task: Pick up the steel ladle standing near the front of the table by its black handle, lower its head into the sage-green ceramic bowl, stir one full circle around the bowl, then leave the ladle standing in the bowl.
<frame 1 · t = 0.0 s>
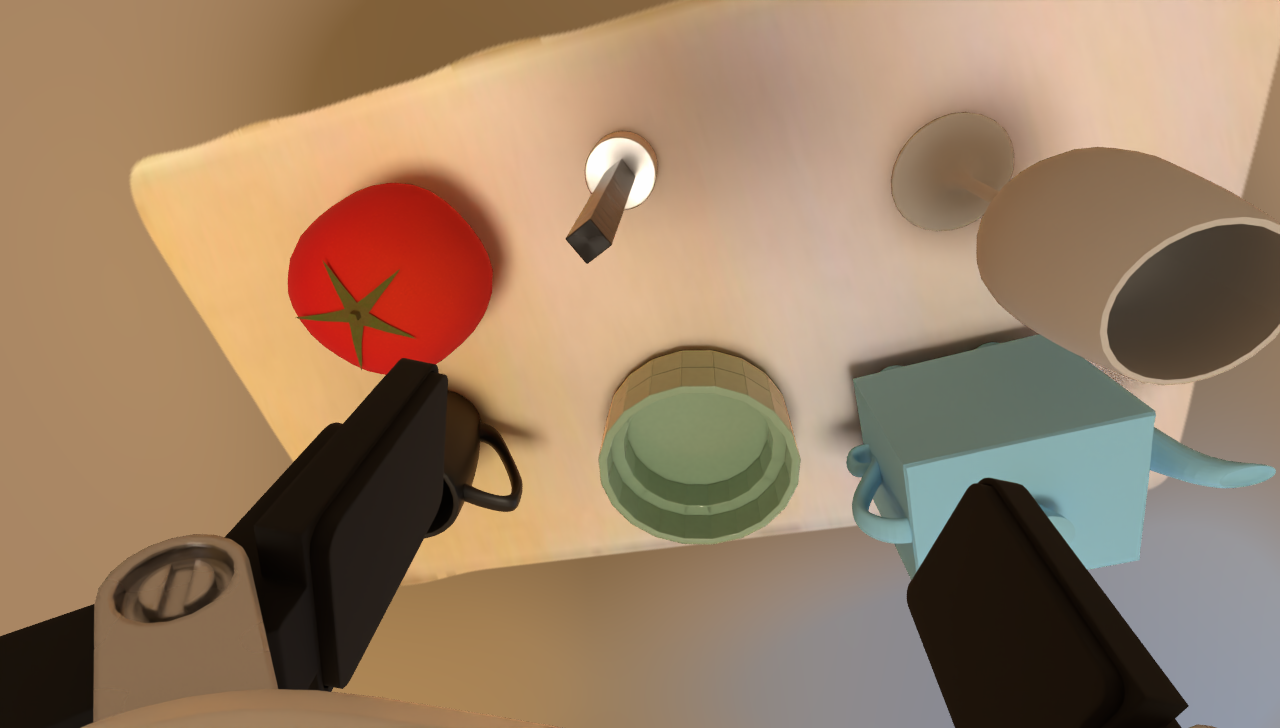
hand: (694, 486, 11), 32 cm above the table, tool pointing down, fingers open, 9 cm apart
bowl: (696, 423, 48), on the table
ladle: (623, 167, 39), on the table
tomato: (427, 254, 43), on the table
wineglass: (949, 173, 38), on the table
teapot: (965, 401, 46), on the table
mug: (471, 421, 50), on the table
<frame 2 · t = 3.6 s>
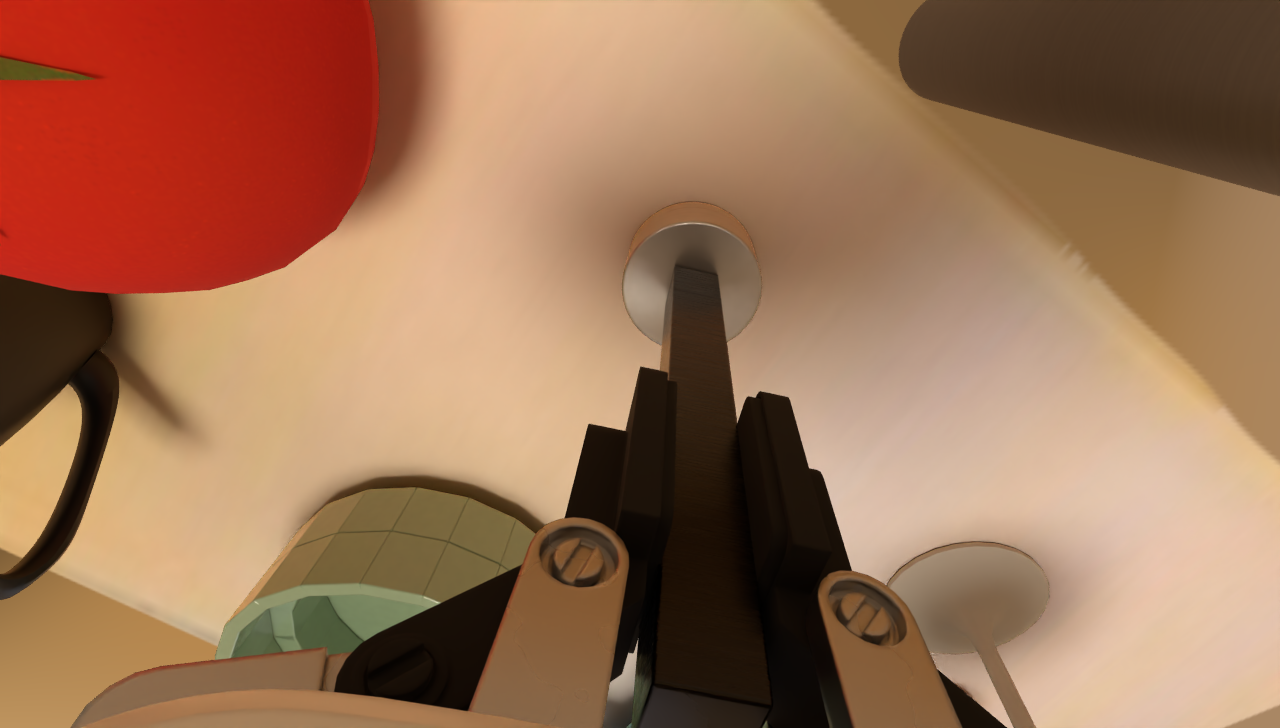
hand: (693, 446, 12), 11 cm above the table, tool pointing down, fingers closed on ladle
bowl: (443, 587, 30), on the table
ladle: (690, 264, 21), on the table, touching gripper
tomato: (249, 41, 19), on the table
wineglass: (960, 595, 28), on the table
mug: (85, 329, 24), on the table
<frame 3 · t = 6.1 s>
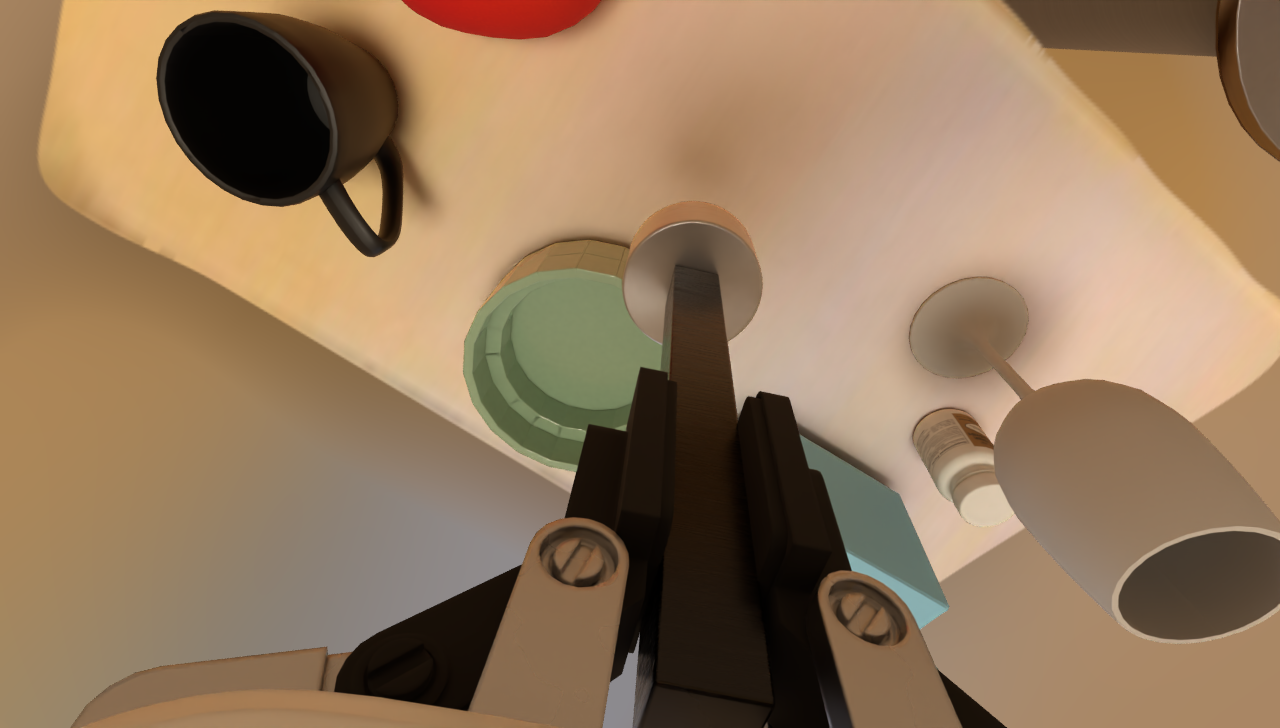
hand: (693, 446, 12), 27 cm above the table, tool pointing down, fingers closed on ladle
bowl: (593, 336, 42), on the table
pill bottle: (942, 430, 43), on the table
ladle: (691, 264, 21), point 17 cm above the table, touching gripper
wineglass: (965, 327, 39), on the table
teapot: (794, 493, 47), on the table
mug: (375, 125, 36), on the table
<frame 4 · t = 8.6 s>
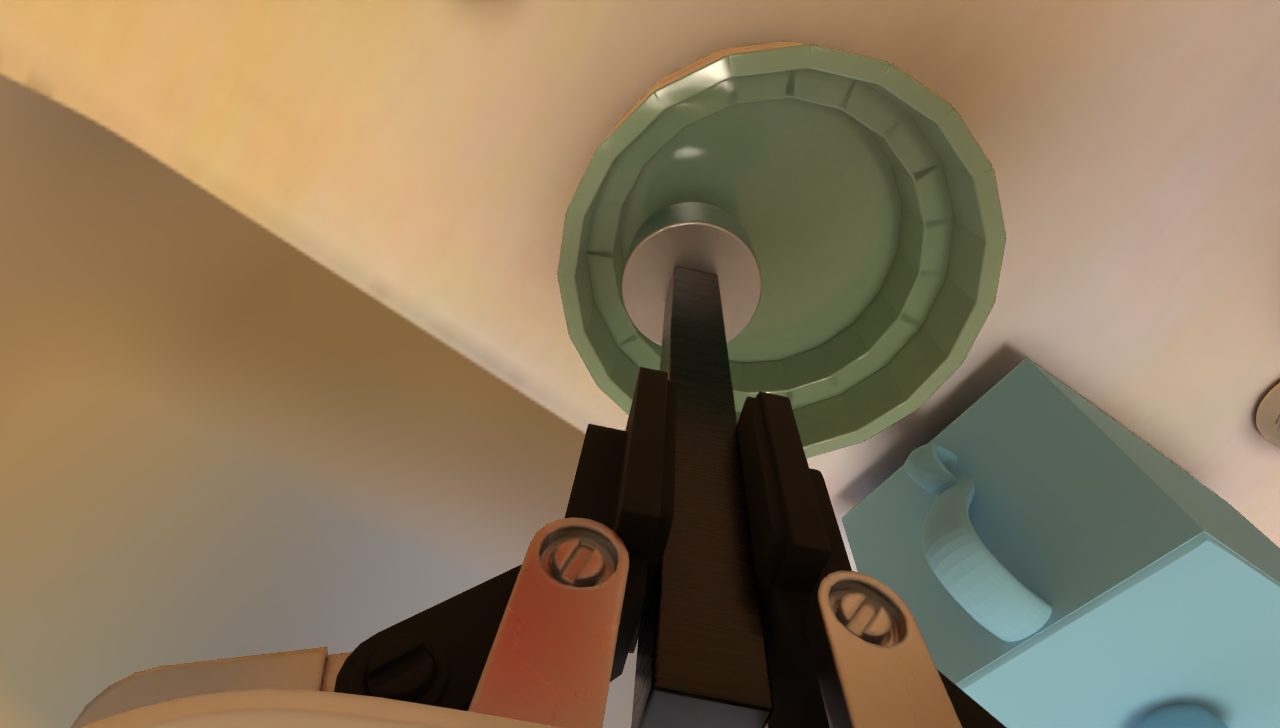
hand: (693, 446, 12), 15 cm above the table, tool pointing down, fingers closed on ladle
bowl: (755, 235, 25), on the table
ladle: (690, 264, 21), point 5 cm above the table, touching gripper
teapot: (1031, 499, 31), on the table
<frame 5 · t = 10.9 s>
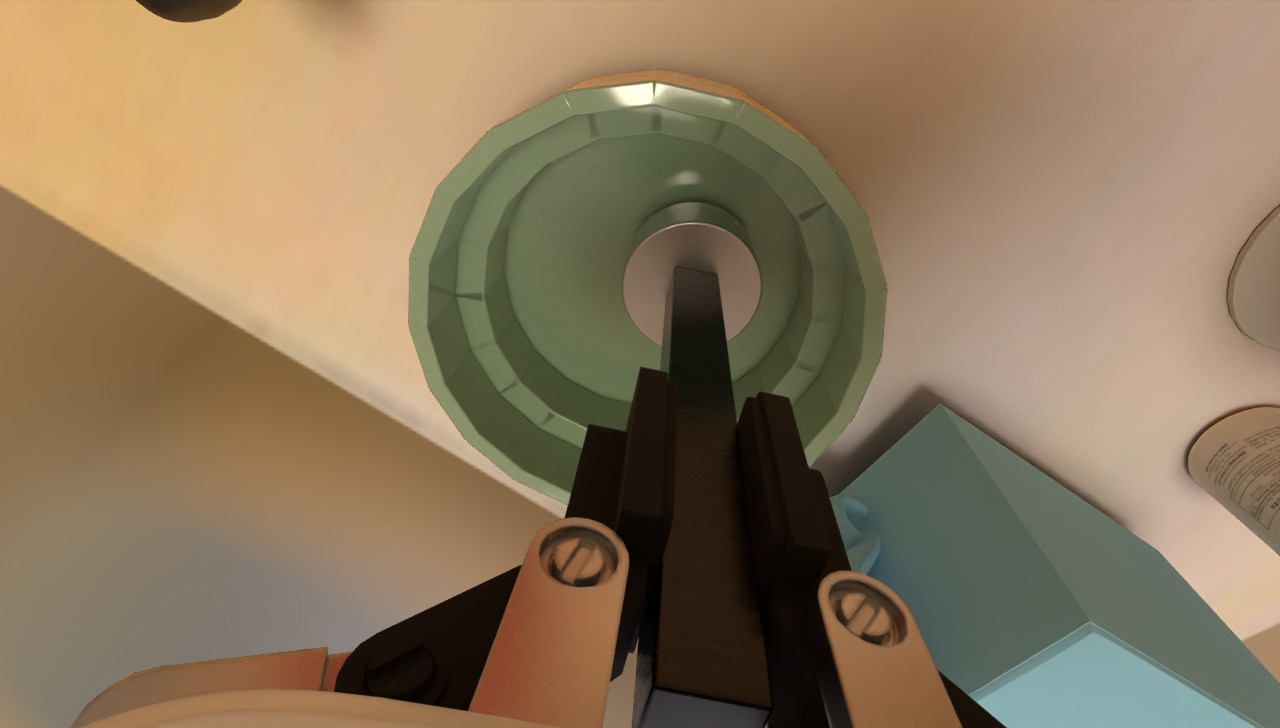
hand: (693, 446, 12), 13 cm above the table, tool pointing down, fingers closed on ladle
bowl: (651, 273, 23), on the table
pill bottle: (1238, 444, 26), on the table
ladle: (690, 265, 21), point 2 cm above the table, touching gripper
teapot: (961, 543, 29), on the table
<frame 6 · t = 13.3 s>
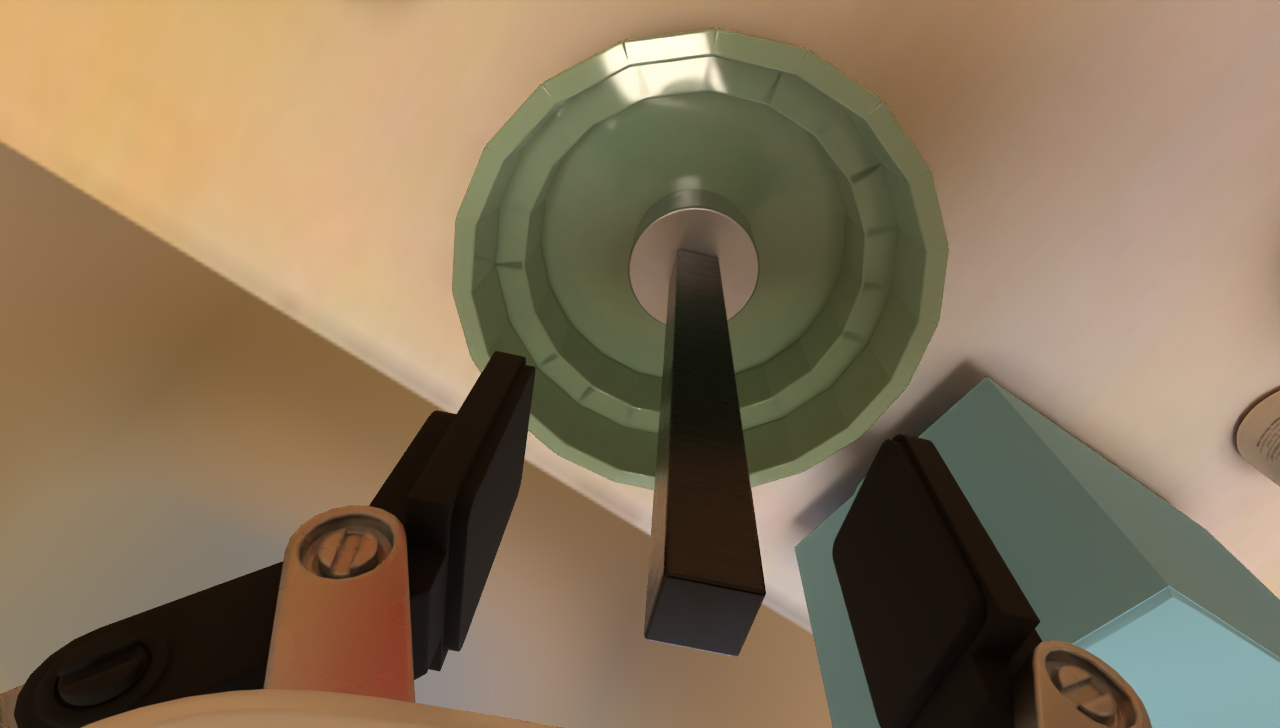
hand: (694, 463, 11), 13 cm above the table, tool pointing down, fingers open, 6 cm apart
bowl: (690, 244, 23), on the table
ladle: (692, 249, 22), point 1 cm above the table, touching bowl
teapot: (999, 524, 29), on the table
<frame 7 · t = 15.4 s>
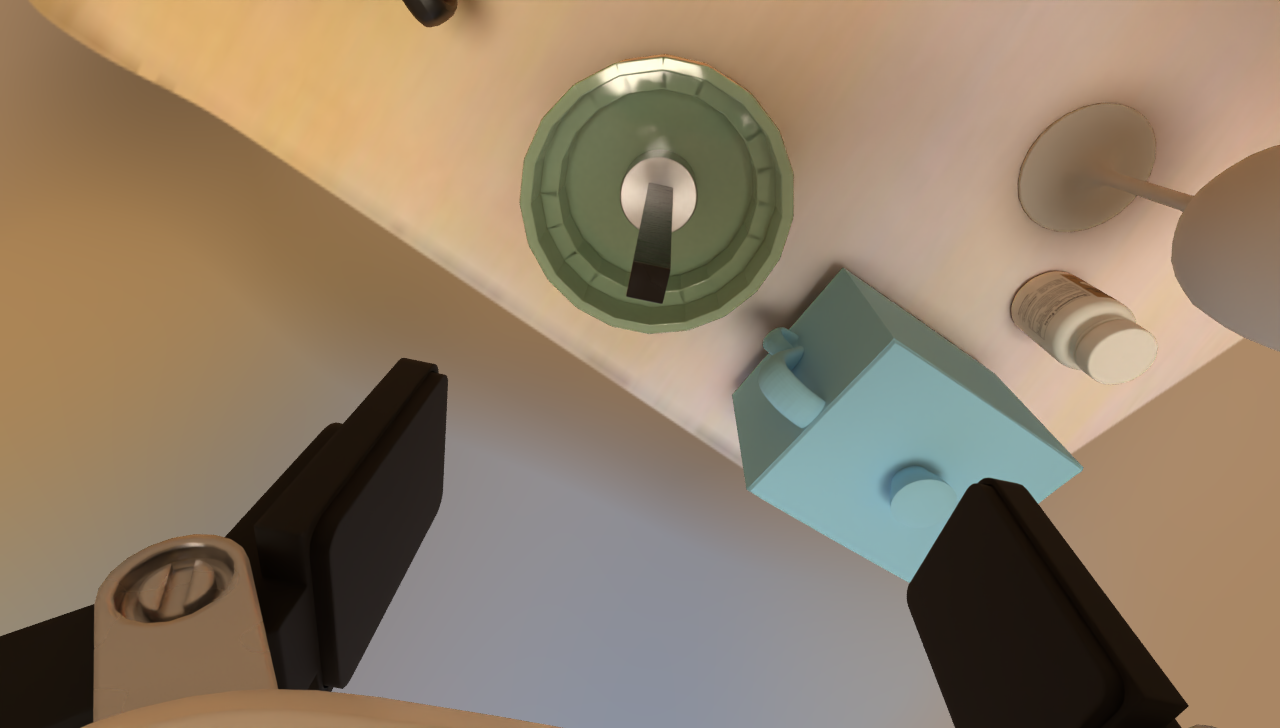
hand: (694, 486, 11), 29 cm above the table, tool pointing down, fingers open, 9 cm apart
bowl: (658, 185, 37), on the table
pill bottle: (1043, 300, 39), on the table
ladle: (659, 187, 36), point 1 cm above the table, touching bowl
wineglass: (1082, 169, 35), on the table
teapot: (871, 382, 43), on the table
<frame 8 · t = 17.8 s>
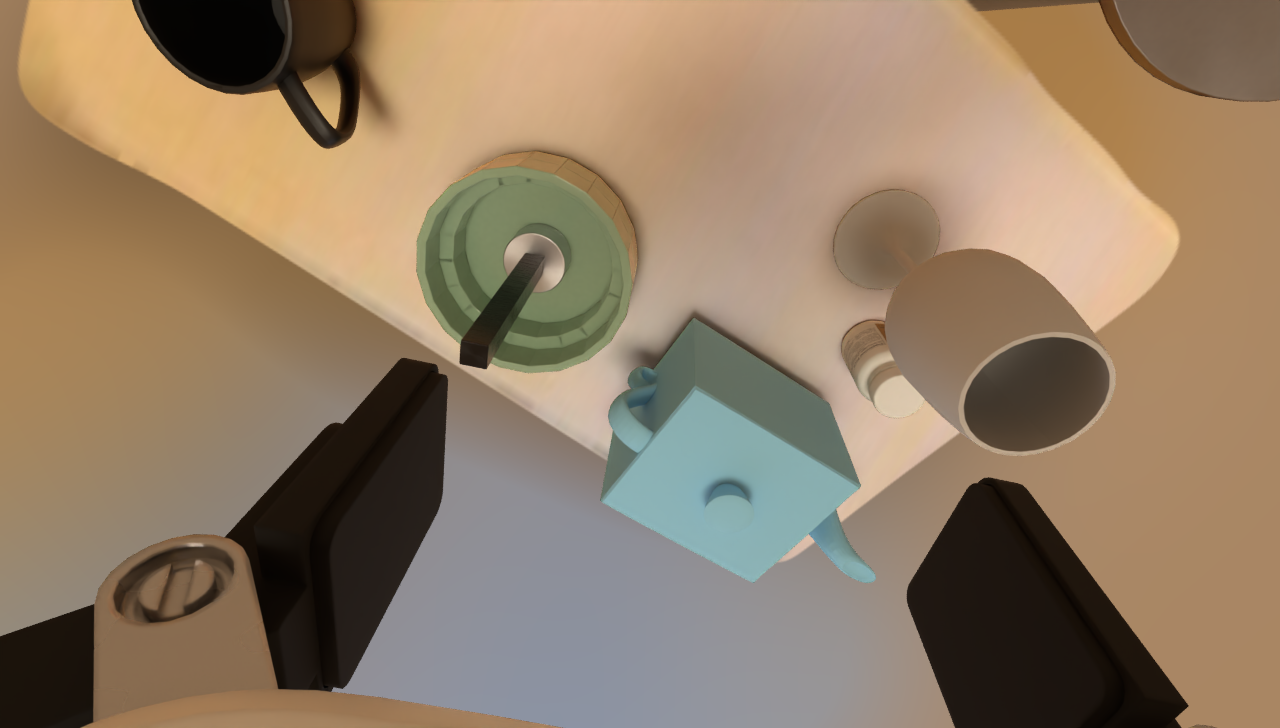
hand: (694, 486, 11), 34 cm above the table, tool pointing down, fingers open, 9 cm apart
bowl: (542, 249, 45), on the table
pill bottle: (868, 343, 47), on the table
ladle: (541, 252, 44), point 1 cm above the table, touching bowl
wineglass: (884, 240, 43), on the table
teapot: (735, 408, 50), on the table
mug: (335, 40, 39), on the table
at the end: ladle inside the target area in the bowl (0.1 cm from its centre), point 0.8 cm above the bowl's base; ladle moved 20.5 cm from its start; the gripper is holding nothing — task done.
